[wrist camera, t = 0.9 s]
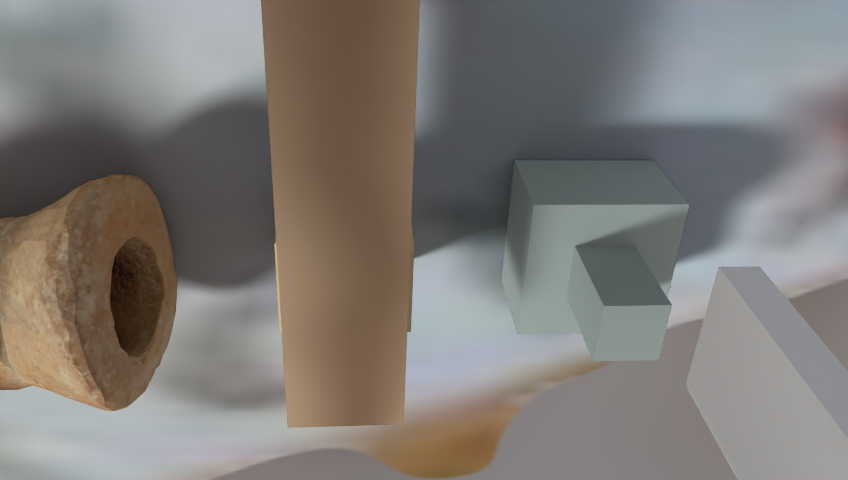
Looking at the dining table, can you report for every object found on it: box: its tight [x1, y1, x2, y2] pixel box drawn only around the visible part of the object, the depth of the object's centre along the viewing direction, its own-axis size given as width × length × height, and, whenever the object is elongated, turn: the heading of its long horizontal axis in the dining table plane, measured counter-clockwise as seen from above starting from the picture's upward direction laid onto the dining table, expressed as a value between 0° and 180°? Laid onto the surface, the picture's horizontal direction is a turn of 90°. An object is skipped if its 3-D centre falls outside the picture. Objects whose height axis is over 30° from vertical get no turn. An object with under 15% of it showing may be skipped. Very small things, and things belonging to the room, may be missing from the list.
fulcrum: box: [501, 160, 690, 361], centre depth 31 cm, size 6×6×8 cm
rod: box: [261, 0, 420, 428], centre depth 23 cm, size 4×22×4 cm, turn 178°
